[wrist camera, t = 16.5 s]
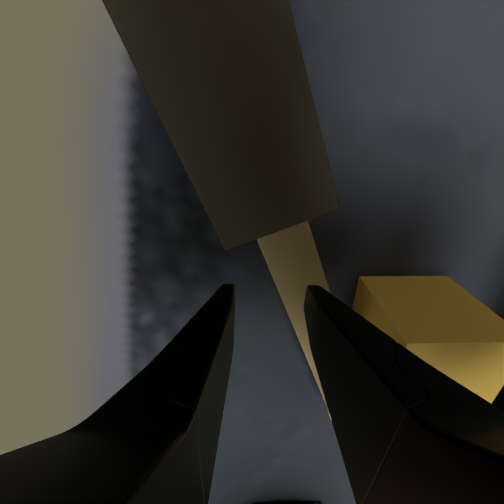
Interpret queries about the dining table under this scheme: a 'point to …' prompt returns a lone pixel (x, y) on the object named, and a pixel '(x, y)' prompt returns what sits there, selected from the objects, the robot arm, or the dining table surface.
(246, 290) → the dining table surface
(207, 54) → the crook tool
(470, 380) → the ochre cube
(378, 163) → the dining table surface
